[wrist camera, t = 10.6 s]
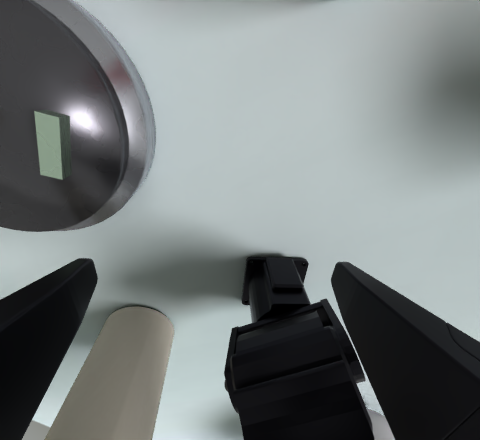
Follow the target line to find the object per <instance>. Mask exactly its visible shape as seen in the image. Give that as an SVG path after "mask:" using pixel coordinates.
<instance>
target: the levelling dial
mask: <svg viewBox="0 0 480 440" xmlns="http://www.w3.org/2000/svg"><path fill="white" fill-rule="evenodd" d="M128 158H129V136H128V128H127V123H126V119H125V115H124V111H123V108H122V106H121V103H120V100H119V98H118V95H117V93H116V91H115V89H114V87H113V85H112V83H111V81H110V79H109V77H108V76H107V74H106V73H105V71H104V69H103V68H102V66H101V65H100V63H99V62H98V60H97V59H96V58H95V56H94V55H93V54H92V53H91V51H90V50H89V49H88V47H87V46H86V45H85V44H84V43H83V42H82V41H81V40H80V39H79V38H78V37H77V35H76V34H75V33H74V32H73V31H72V30H71V29H70V28H69V27H67V26H66V25H65V24H64V23H63V22H62V21H60V20H59V19H58V18H57V17H56V16H55V15H54V14H52V13H51V12H49V11H48V10H46V9H45V8H44V7H42V6H41V5H39V4H38V3H36V2H35V1H33V0H0V227H4V228H8V229H14V230H21V231H34V232H42V231H54V230H59V229H65V228H68V227H71V226H74V225H76V224H78V223H80V222H82V221H84V220H86V219H88V218H89V217H91V216H92V215H93V214H95V213H96V212H97V211H98V210H99V209H100V208H101V207H103V206H104V205H105V204H106V203H107V202H108V201H109V200H110V199H111V198H112V197H113V195H114V194H115V193H116V191H117V190H118V188H119V187H120V185H121V182H122V180H123V178H124V176H125V172H126V169H127V165H128Z"/></svg>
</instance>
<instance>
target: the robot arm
mask: <svg viewBox="0 0 480 440" xmlns="http://www.w3.org/2000/svg"><path fill="white" fill-rule="evenodd" d="M250 261H253V262H252V263H250ZM302 263H304V264H302ZM307 268H308V262H307V260H306V259H302V258H279V257H249V258H247V260H246V268H245V276H244V284H243V293H242V304H244V305H250V309H251V318H252V323H251V324H248V325H245V326H242V327H235V328H232V332H231V337H230V342H229V348H228V353H227V359H226V365H225V371H224V375H225V379H226V380H225V389H226V390H227V391H228V392H229V396H230V399H231V403H232V405H233V407H234V409H235V411H236V412H237V413H238V414H239V417H240V421H241V425H242V431H243V437H244V440H375V439H374V435H373V427H372V421H371V418H370V416H369V414H368V411H367V409H366V406H365V404H364V401H363V399H362V396H361V394H360V391H359V389H358V387H357V384H356V383H359V382H363V381H365V376H364V373H363V370H362V367H361V365H360V362H359V360H358V357H357V355H356V353H355V350H354V348H353V346H352V344H351V342H350V340H349V337H348V335H347V333H346V331H345V330H344V328H343V326H342V324H341V323H340V321H339V319H338V317H337V316H336V314H335V312H334V311H333V309H332V307H331V305H330V304H329V302H328V300H327V299H323V300H320V301H321V302H318V303H314V304H311V303H310V301H309V299H308V296H307V294H306V291H305V289H304V285H303V283H304V279H305V275H306V272H307ZM97 280H98V277H97V273H96V269H95V266H94V262H93V260H92V259H89V258H79V259H77V260H75V261H73V262H71V263H69V264H67V265H65V266H63V267H61V268H60V269H58V270H56V271H54V272H52V273H50V274H48V275H46V276H44V277H43V278H41V279H39V280H37V281H35V282H33V283H31V284H29V285H28V286H26V287H24V288H22V289H20V290H18V291H16V292H14V293H12V294H11V295H9V296H7V297H5V298H3V299H1V300H0V440H22V438H23V436H24V434H25V432H26V430H27V428H28V426H29V424H30V422H31V420H32V418H33V417H34V415H35V413H36V411H37V409H38V407H39V405H40V403H41V401H42V399H43V397H44V395H45V393H46V391H47V389H48V387H49V385H50V383H51V382H52V380H53V378H54V376H55V374H56V372H57V370H58V368H59V366H60V364H61V362H62V360H63V358H64V356H65V354H66V352H67V350H68V348H69V346H70V345H71V343H72V341H73V339H74V337H75V335H76V333H77V331H78V329H79V327H80V325H81V323H82V320H83V318H84V315H85V313H86V310H87V308H88V305H89V302H90V300H91V297H92V295H93V292H94V289H95V287H96V284H97ZM331 284H332V287H333V290H334V294H335V297H336V300H337V303H338V306H339V309H340V313H341V316H342V318H343V321H344V324H345V326H346V328H347V331H348V333H349V335H350V337H351V340H352V342H353V344H354V347H355V349H356V351H357V353H358V356H359V358H360V360H361V363H362V365H363V367H364V370H365V372H366V374H367V376H368V379H369V381H370V383H371V386H372V388H373V390H374V392H375V395H376V397H377V399H378V402H379V404H380V406H381V408H382V411H383V413H384V415H385V418H386V420H387V422H388V424H389V427H390V429H391V431H392V434H393V436H394V438H395V440H480V342H479V341H477V340H475V339H473V338H472V337H470V336H468V335H467V334H465V333H463V332H462V331H460V330H458V329H457V328H455V327H454V326H452V325H450V324H449V323H446V322H445V321H444V320H442V319H440V318H439V317H437V316H436V315H434V314H432V313H431V312H429V311H427V310H426V309H424V308H422V307H421V306H419V305H418V304H416V303H414V302H413V301H411V300H409V299H408V298H406V297H404V296H403V295H401V294H400V293H398V292H396V291H395V290H393V289H391V288H390V287H388V286H387V285H385V284H383V283H382V282H380V281H378V280H377V279H375V278H373V277H372V276H370V275H369V274H367V273H365V272H364V271H362V270H360V269H359V268H357V267H355V266H354V265H352V264H351V263H349V262H338V263H337V264H336V265H335V268H334V271H333V274H332V277H331ZM245 300H247V301H245Z"/></svg>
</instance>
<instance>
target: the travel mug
mask: <svg viewBox="0 0 480 440" xmlns="http://www.w3.org/2000/svg"><path fill="white" fill-rule="evenodd" d="M173 337H174V327H173V324H172V323H171V321H170V320H169V319H168V318H167V317H166V316H165V315H163V314H162V313H160V312H158V311H156V310H153V309H150V308H145V307H126V308H122V309H119V310H117V311H115V312H113V313H112V314H111V315H110V316H109V317H108V318H107V320H106V322H105V324H104V326H103V328H102V330H101V331H100V333H99V335H98V337H97V339H96V341H95V343H94V345H93V347H92V349H91V351H90V353H89V355H88V357H87V359H86V360H85V362H84V364H83V366H82V368H81V370H80V372H79V374H78V376H77V378H76V380H75V382H74V384H73V386H72V387H71V389H70V391H69V393H68V395H67V397H66V399H65V401H64V403H63V405H62V407H61V409H60V411H59V413H58V414H57V416H56V418H55V420H54V422H53V424H52V426H51V428H50V430H49V432H48V434H47V436H46V438H45V440H152V437H153V432H154V428H155V423H156V418H157V413H158V408H159V404H160V399H161V394H162V389H163V384H164V380H165V375H166V370H167V365H168V361H169V356H170V351H171V346H172V341H173Z"/></svg>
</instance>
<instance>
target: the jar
mask: <svg viewBox="0 0 480 440" xmlns="http://www.w3.org/2000/svg"><path fill="white" fill-rule="evenodd" d="M367 411H368V414H369V416H370V418H371V421H372V427H373V435H374V439H375V440H395V438H394V436H393V434H392V431H391V429H390V427H389V424H388V422H387V420H386V418H385V416H383V415H381V414H379V413H377V412H375V411H372V410H369V409H367Z"/></svg>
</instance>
